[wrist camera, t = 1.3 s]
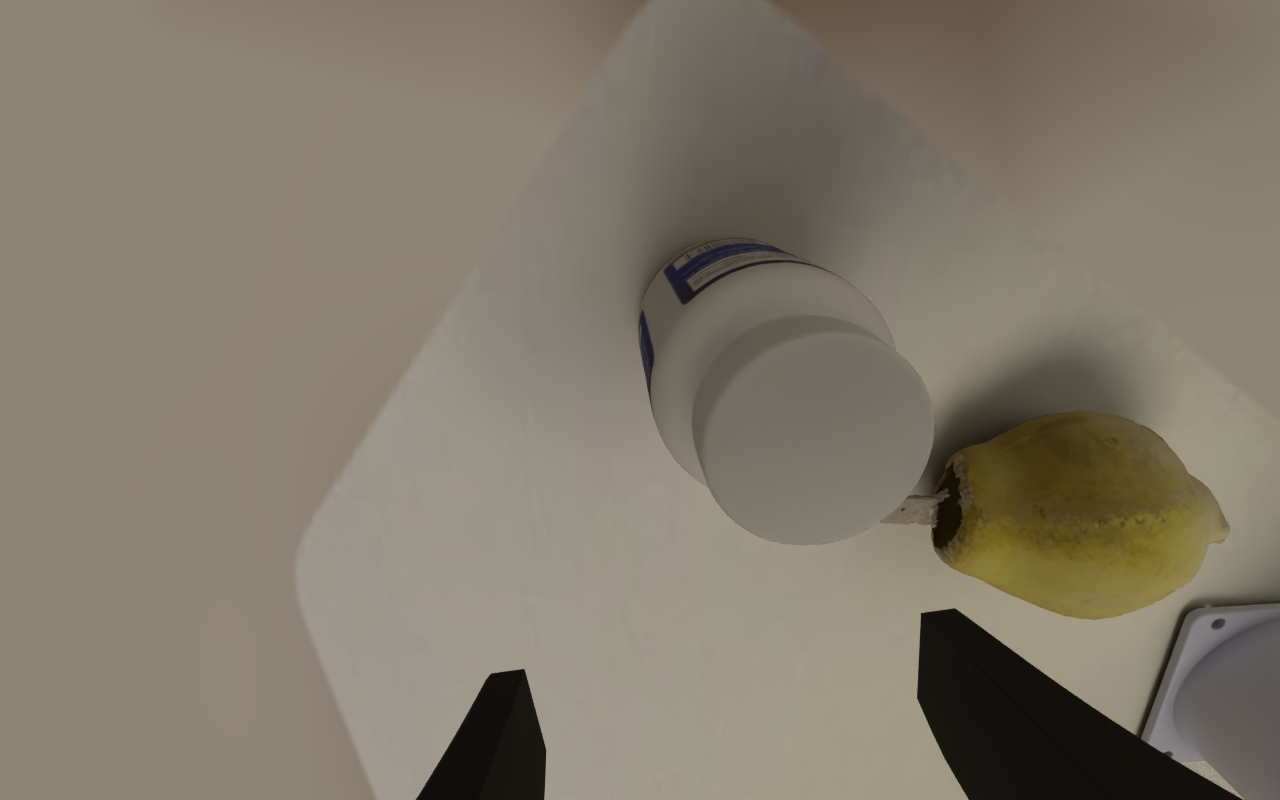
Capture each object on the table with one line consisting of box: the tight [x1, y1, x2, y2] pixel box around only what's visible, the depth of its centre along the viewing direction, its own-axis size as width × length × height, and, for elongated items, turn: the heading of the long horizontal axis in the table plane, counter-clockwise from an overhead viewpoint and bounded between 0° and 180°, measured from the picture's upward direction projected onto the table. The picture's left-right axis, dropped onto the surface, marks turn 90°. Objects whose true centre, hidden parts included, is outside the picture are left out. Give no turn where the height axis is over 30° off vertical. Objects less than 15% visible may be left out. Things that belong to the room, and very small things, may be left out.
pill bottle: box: [639, 237, 934, 545], centre depth 14 cm, size 5×5×9 cm
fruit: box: [880, 411, 1230, 620], centre depth 18 cm, size 6×6×10 cm
